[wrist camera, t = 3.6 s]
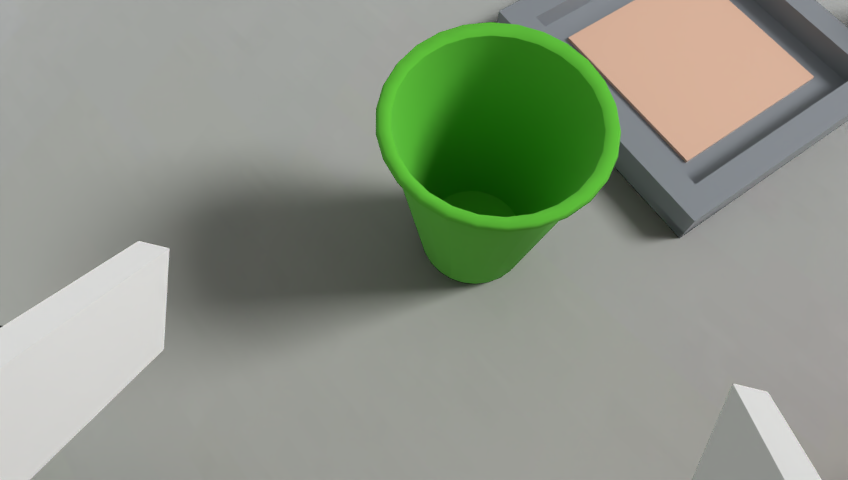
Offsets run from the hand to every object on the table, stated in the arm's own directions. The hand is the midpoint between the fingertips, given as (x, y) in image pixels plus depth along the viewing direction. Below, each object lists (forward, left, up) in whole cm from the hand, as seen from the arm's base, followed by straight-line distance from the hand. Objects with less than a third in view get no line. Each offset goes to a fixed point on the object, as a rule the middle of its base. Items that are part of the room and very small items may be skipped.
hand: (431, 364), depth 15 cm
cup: (-8, -7, -16) cm, 20 cm away
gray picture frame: (-25, -9, -16) cm, 31 cm away
